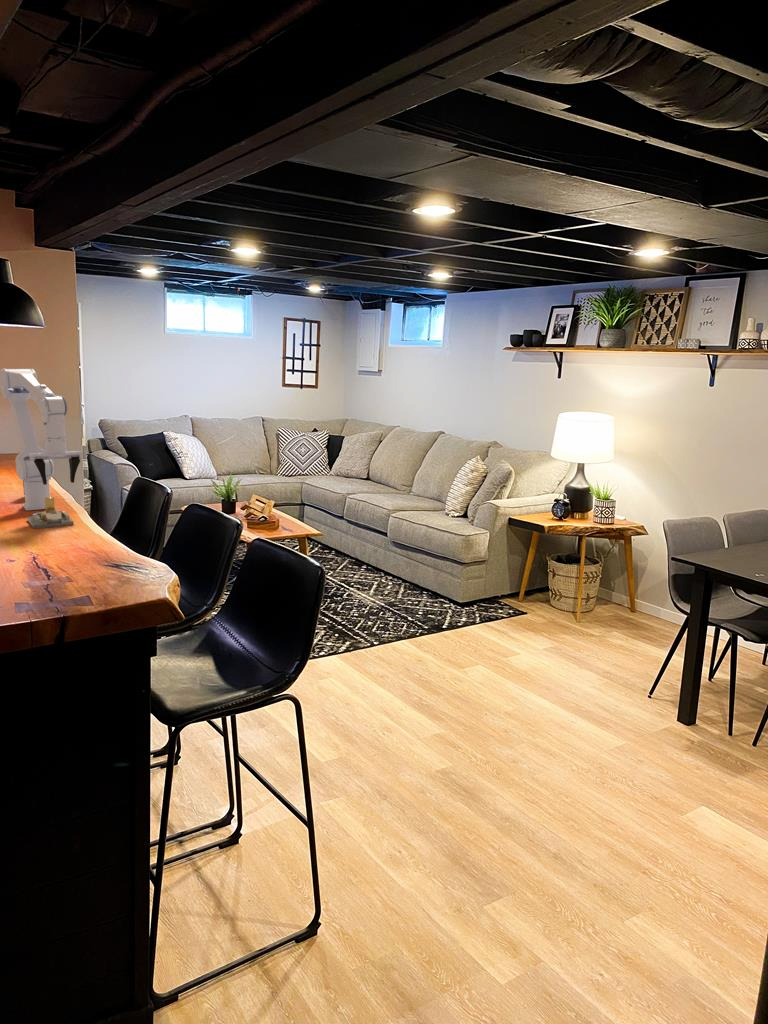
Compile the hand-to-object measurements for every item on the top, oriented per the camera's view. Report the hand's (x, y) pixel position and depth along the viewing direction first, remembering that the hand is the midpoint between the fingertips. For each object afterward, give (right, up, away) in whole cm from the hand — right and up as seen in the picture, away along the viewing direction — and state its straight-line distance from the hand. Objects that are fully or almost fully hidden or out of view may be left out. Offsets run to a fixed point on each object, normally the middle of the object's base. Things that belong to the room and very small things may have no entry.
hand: (58, 483), depth 228 cm
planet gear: (+1, -10, -7) cm, 12 cm away
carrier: (+1, -12, -8) cm, 14 cm away
